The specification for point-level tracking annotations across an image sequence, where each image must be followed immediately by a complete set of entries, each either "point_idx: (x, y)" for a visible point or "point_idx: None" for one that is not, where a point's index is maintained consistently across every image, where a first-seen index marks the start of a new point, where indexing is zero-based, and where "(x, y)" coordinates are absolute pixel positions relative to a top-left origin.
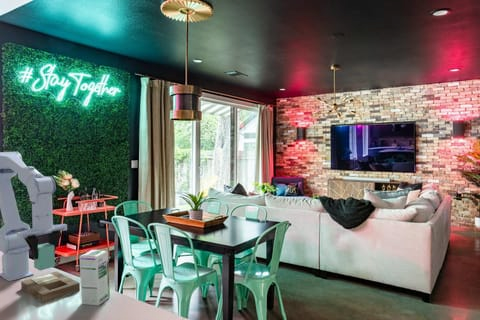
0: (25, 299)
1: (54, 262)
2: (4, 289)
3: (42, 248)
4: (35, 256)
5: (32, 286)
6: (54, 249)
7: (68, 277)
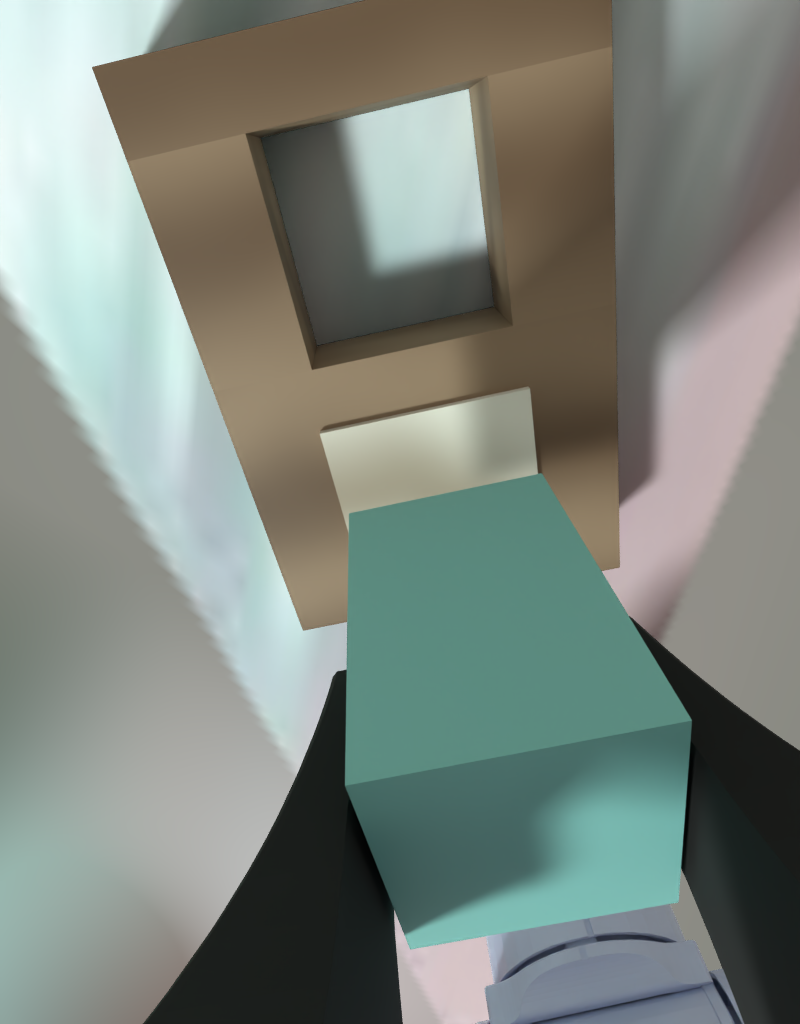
0: (655, 255)
1: (353, 544)
2: (682, 590)
3: (615, 722)
4: (657, 643)
5: (594, 365)
6: (332, 736)
7: (215, 394)
